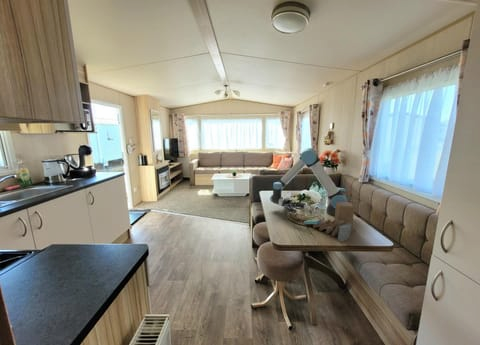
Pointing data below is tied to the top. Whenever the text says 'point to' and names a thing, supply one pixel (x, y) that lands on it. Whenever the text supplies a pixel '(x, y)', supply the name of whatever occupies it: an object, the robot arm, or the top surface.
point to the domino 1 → (313, 221)
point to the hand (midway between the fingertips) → (305, 210)
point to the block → (344, 212)
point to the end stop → (344, 232)
